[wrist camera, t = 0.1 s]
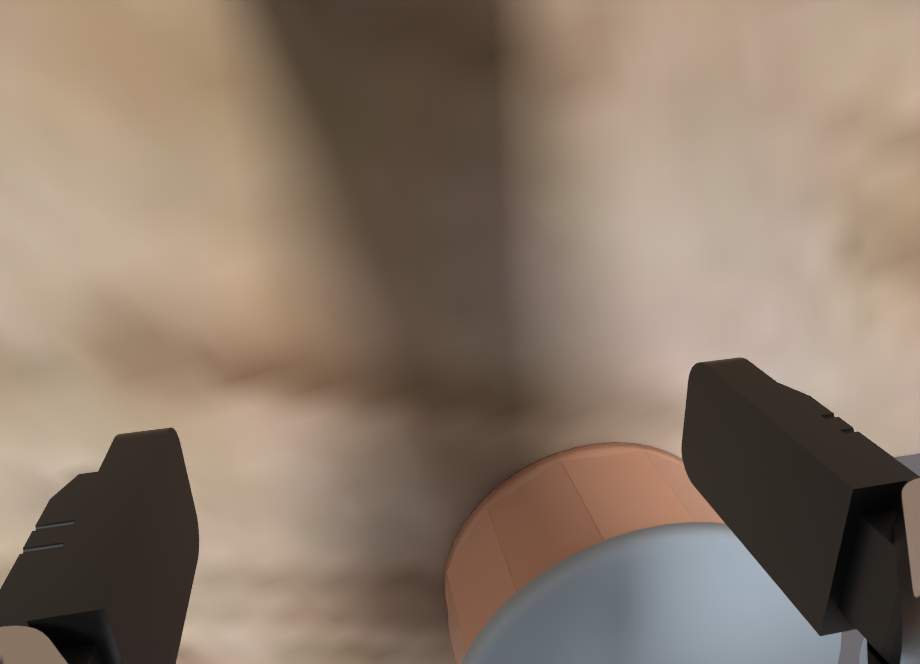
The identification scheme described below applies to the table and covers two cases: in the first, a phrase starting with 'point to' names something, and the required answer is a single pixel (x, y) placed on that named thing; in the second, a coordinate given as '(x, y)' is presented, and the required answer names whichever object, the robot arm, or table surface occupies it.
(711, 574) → the lid
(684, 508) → the bowl
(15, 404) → the table surface
